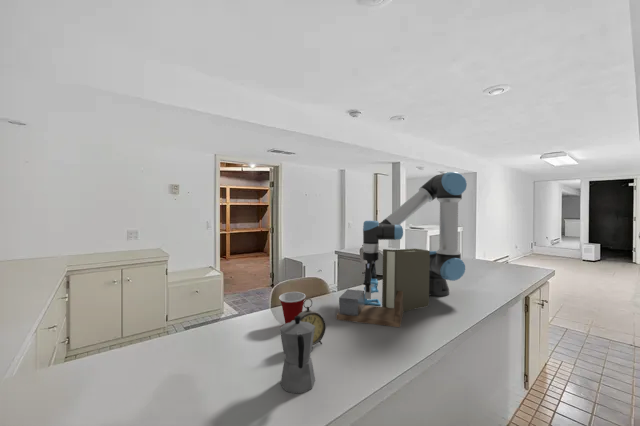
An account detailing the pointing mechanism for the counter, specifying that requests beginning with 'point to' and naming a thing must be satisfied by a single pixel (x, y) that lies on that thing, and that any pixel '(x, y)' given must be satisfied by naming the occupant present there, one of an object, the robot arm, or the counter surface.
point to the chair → (373, 290)
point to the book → (406, 278)
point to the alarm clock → (314, 323)
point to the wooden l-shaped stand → (379, 314)
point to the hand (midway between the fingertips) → (370, 294)
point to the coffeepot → (297, 356)
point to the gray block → (351, 302)
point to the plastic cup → (292, 304)
